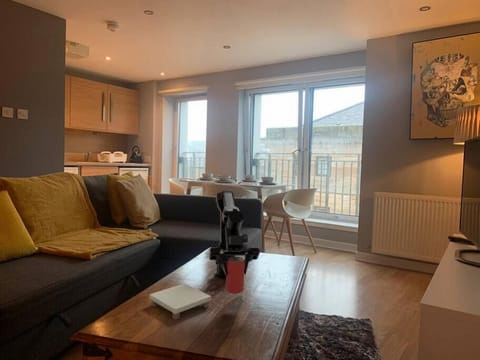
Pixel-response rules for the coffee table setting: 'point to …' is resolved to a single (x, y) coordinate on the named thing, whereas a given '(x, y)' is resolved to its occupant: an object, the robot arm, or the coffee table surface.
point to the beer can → (235, 275)
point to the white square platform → (179, 299)
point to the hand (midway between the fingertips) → (235, 274)
